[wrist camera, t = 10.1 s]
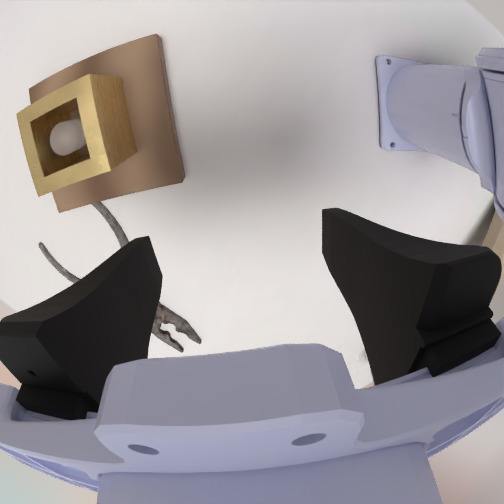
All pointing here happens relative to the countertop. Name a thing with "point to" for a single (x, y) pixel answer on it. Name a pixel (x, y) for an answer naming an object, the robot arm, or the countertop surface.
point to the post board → (141, 117)
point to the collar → (94, 126)
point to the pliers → (162, 312)
